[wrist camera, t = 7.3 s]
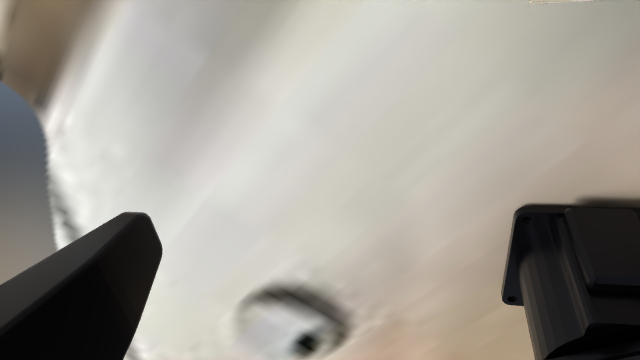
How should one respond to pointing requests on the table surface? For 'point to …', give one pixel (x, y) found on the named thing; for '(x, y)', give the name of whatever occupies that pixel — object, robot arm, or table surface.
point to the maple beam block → (554, 1)
